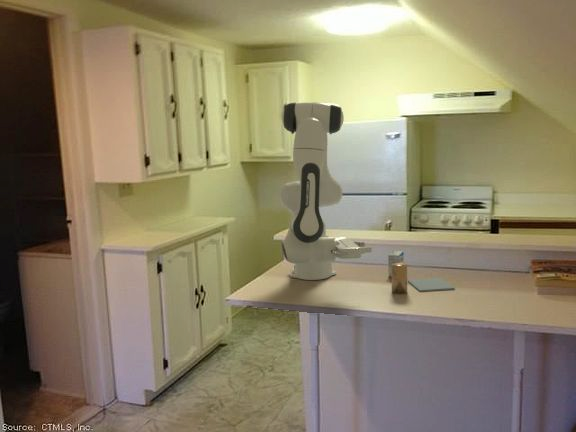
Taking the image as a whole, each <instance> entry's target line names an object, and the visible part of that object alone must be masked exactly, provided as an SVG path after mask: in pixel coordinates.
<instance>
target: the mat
mask: <svg viewBox="0 0 576 432" xmlns="http://www.w3.org/2000/svg"><path fill="white" fill-rule="evenodd" d="M407 283H409V284H410V285H411V286H412V287H414V288H415V289H416V290H417V291H418V292H419V293H421V292H434V291H435V292H436V291H437V292H439V291H451V290H455V289H456V288H455V287H454V286H453V285H451V284H450V282H447V281H446V280H444V279H443V278H442V277H436V278H435V277H434V278H422V279H421V278H420V279H407Z"/></svg>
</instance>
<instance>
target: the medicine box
mask: <svg viewBox="0 0 576 432" xmlns="http://www.w3.org/2000/svg"><path fill="white" fill-rule="evenodd" d="M404 255H405V254H404V251H400V250H393V251H392V252H391V253H390V254H388V255H387V256H388V257H387V264H388V267H387V268H388V276H389V277H392V264H394V263H404V264H405V262H404V259H405V257H404Z"/></svg>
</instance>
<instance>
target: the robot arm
mask: <svg viewBox="0 0 576 432" xmlns="http://www.w3.org/2000/svg"><path fill="white" fill-rule="evenodd" d="M281 120H282V121H281V122H282V125H283V127H284V128H285V130H286V131H288V132H290V134H292V135H293V134H294V133H295V134H294V139H293V147H292V148H293V150H292V161H293V169H294V171H295V173H296V175H297V176H298V180H295V181H291V182H287V183H284V184H283V185H282V186H281V187H280V189H279V193H278V198H279V202H280V203H281V205H282V206H283V207H284V209H285V208H286V209H287V210H288V211H289V212H290V213H291V214H292V215H293V216H292V218H291V219H290V223H289V226H288V227H289V228H288V231H287V233H286V235H285V237H284V239H283V240H282V241H281V249H282V254H283V256H284V259H285V260H286V261H287V263H290V264H293V266H292V269H291V272H290V278H295V279H300V280H305V281H316V280H324V279H328V278H330V277H332V276H335V275H337V271H335V270H334V269H333V264H332V263H333V262H335V261H336V259H337V258H338V259H341V260H344V259H345V260H350V259H353V260H354V259H356V260H357V259H360V258H362V255H363V254H366V253H372V252H373V251H372V247H371V246H369V245H368V246H365V245H366V243H365V242H364V241H356V240H351V239H350V238H349V237H337V236H336V237H334V236H332V235H330V236H329V235H327V227H326V226H327V225H326V222H325V220H324V219H322V216H321V213H320V208H323V207H324V208H325V207H331V206H334V205H337V204H339V203H340V201H341V200H342V197H343V187H342V186H341V184H340V182H339V181H337V180H336V179H335V178H334V177H333V176H332V174H331V173H330V171H329V166H328V133H329V135H332V134H335V133H337V132H339V131H341V128H342V126H343V124H344V111H343V110H342V107H341V106H340V105H339V104H335V103H326V102H318V101H317V102H316V101H314V102H298V103H296V102H291V103H287V104H286V105H285V106H284V109H283V111H282V115H281Z"/></svg>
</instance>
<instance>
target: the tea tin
mask: <svg viewBox="0 0 576 432" xmlns="http://www.w3.org/2000/svg"><path fill="white" fill-rule="evenodd" d="M391 293H392V294H394V295H405V294H408V264H407V263H405V262H404V263H394V264H392V276H391Z"/></svg>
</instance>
